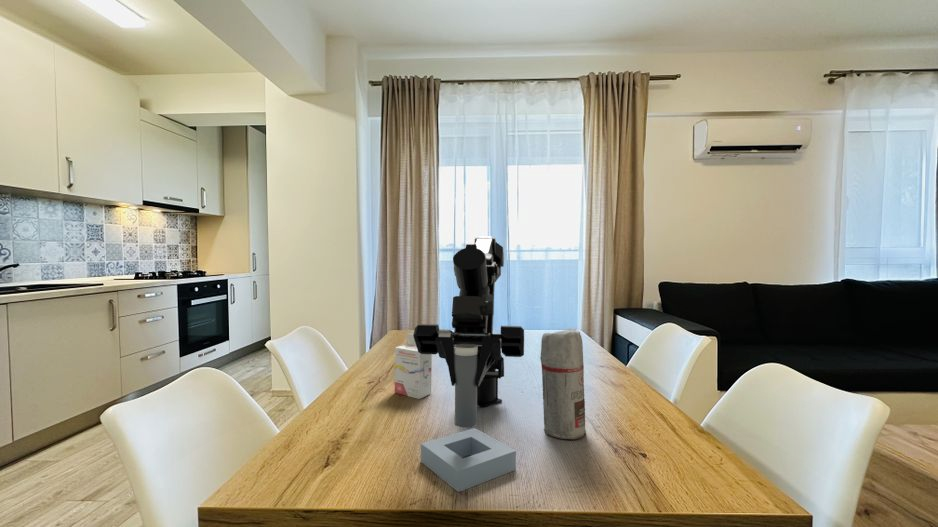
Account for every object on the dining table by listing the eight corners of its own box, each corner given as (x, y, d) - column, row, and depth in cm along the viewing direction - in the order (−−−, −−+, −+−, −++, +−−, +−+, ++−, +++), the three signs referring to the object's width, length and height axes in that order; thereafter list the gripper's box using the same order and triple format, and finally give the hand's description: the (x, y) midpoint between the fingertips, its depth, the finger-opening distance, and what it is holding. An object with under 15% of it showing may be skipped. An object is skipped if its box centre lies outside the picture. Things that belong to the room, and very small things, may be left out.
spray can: (560, 444, 73) (561, 334, 73) (533, 428, 80) (533, 327, 80) (595, 435, 77) (595, 330, 77) (566, 421, 84) (566, 325, 84)
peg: (463, 417, 68) (463, 342, 68) (481, 422, 66) (481, 345, 66) (449, 424, 65) (450, 346, 65) (469, 429, 63) (469, 349, 63)
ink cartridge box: (393, 393, 102) (393, 335, 102) (406, 388, 106) (406, 332, 106) (419, 399, 97) (420, 338, 98) (432, 394, 102) (432, 335, 102)
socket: (474, 444, 73) (474, 427, 73) (515, 469, 64) (515, 450, 64) (420, 461, 66) (420, 443, 66) (458, 492, 57) (458, 471, 57)
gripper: (416, 277, 70) (397, 355, 59) (524, 278, 68) (525, 359, 57) (426, 317, 78) (411, 392, 67) (523, 319, 76) (524, 396, 65)
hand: (464, 384), depth 64 cm, fingers closed on peg, 4 cm apart
